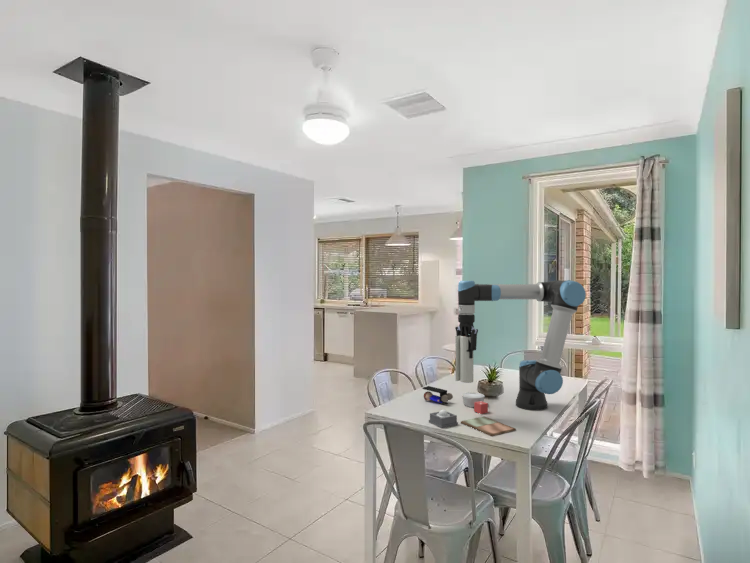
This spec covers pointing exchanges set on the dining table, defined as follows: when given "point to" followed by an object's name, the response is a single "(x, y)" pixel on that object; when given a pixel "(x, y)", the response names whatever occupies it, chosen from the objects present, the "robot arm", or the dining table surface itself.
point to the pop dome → (443, 413)
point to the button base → (443, 420)
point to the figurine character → (442, 398)
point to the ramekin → (472, 398)
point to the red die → (481, 407)
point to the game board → (488, 426)
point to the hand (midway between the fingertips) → (466, 364)
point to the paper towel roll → (463, 360)
